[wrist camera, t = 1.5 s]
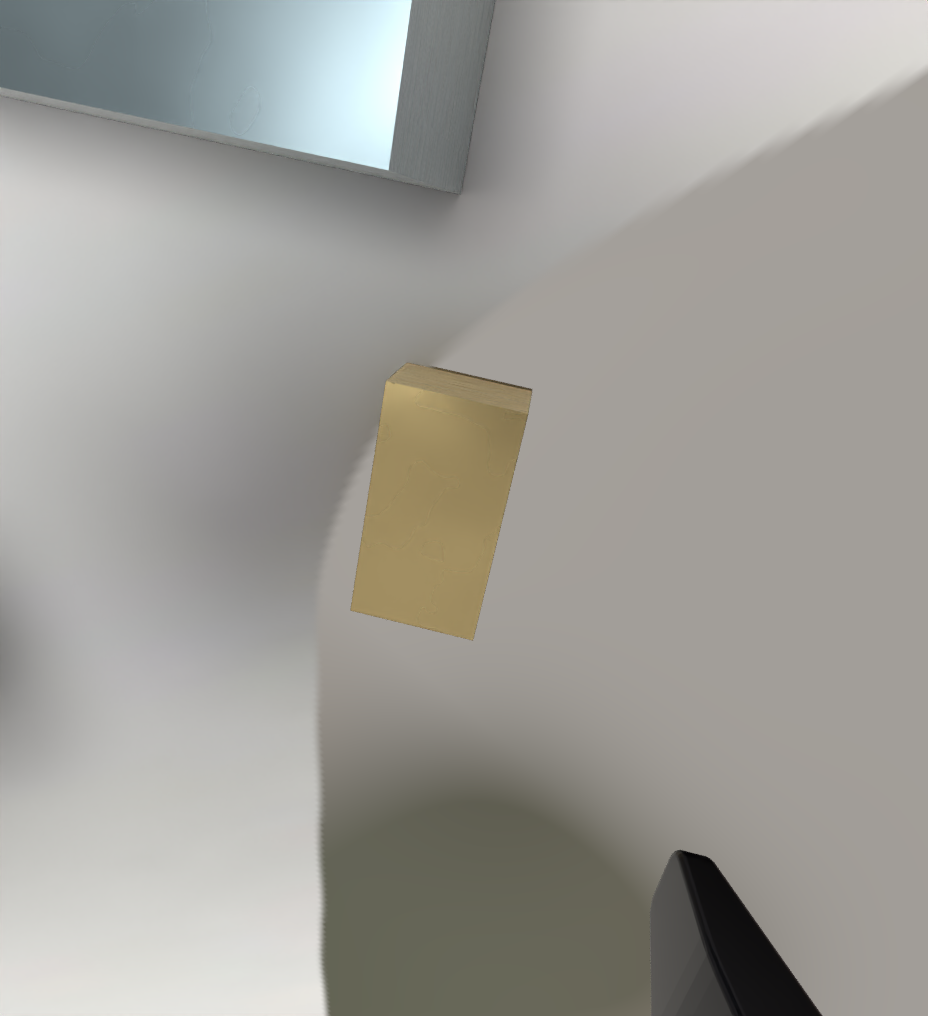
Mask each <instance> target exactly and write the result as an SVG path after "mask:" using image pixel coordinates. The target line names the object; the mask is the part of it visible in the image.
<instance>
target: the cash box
mask: <svg viewBox="0 0 928 1016" xmlns="http://www.w3.org/2000/svg"><path fill="white" fill-rule="evenodd" d="M494 4H495V0H0V96H3V97H8V98H13V99H17V100H22V101H27V102H31V103H36V104H41V105H45V106H50V107H55V108H59V109H64V110H69V111H73V112H78V113H83V114H87V115H92V116H96V117H101V118H106V119H110V120H115V121H120V122H124V123H129V124H134V125H138V126H143V127H148V128H152V129H157V130H162V131H166V132H171V133H176V134H180V135H185V136H190V137H194V138H199V139H204V140H208V141H213V142H218V143H222V144H227V145H232V146H236V147H241V148H246V149H250V150H255V151H260V152H264V153H269V154H274V155H278V156H283V157H288V158H292V159H297V160H302V161H306V162H311V163H315V164H320V165H325V166H329V167H334V168H339V169H343V170H348V171H353V172H357V173H362V174H367V175H371V176H376V177H381V178H385V179H390V180H395V181H399V182H404V183H409V184H413V185H418V186H423V187H427V188H432V189H437V190H441V191H446V192H451V193H455V194H460V195H461V190H462V184H463V178H464V173H465V167H466V161H467V156H468V150H469V145H470V139H471V133H472V128H473V122H474V116H475V111H476V105H477V100H478V94H479V88H480V83H481V77H482V71H483V66H484V60H485V54H486V49H487V43H488V38H489V32H490V26H491V21H492V15H493V9H494Z"/></svg>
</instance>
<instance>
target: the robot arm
mask: <svg viewBox="0 0 928 1016" xmlns="http://www.w3.org/2000/svg"><path fill="white" fill-rule="evenodd" d="M650 942H651V1016H822V1015H821V1013H820V1012H819V1010H818V1009H817V1008H816V1006H815V1005H814V1003H813V1002H812V1000H811V999H810V998H809V996H808V995H807V993H806V992H805V991H804V989H803V988H802V986H801V985H800V983H799V982H798V981H797V979H796V978H795V976H794V975H793V974H792V972H791V971H790V969H789V968H788V966H787V965H786V964H785V962H784V961H783V959H782V958H781V956H780V955H779V954H778V952H777V951H776V949H775V948H774V947H773V945H772V944H771V942H770V941H769V939H768V938H767V937H766V935H765V934H764V932H763V931H762V929H761V928H760V927H759V925H758V924H757V923H756V921H755V920H754V918H753V917H752V916H751V914H750V912H749V911H748V910H747V908H746V907H745V905H744V904H743V903H742V901H741V900H740V898H739V897H738V895H737V894H736V893H735V892H734V890H733V888H732V887H731V886H730V884H729V883H728V881H727V880H726V878H725V877H724V876H723V874H722V873H721V872H720V870H719V868H718V867H717V866H716V864H715V863H714V862H713V861H712V860H711V859H710V858H708V857H706V856H702V855H698V854H694V853H690V852H687V851H682V850H677V851H675V852H674V853H673V854H672V855H671V857H670V859H669V861H668V863H667V865H666V868H665V870H664V872H663V875H662V877H661V879H660V881H659V884H658V886H657V888H656V891H655V893H654V895H653V899H652V903H651V911H650Z"/></svg>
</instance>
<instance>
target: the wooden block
mask: <svg viewBox="0 0 928 1016" xmlns="http://www.w3.org/2000/svg"><path fill="white" fill-rule="evenodd" d="M531 395H532V389H530V388H526V387H522V386H517V385H513V384H508V383H504V382H500V381H495V380H491V379H486V378H482V377H478V376H473V375H469V374H465V373H460V372H456V371H452V370H447V369H443V368H438V367H434V366H432V367H431V368H429V367H424V366H420V365H416V364H411V363H406V364H405V365H404V366H402V367H401V368H400V369H399V370H398V371H397V372H396V373H394V374H393V375H392V376H391V377H390V378H389V379H388V380H386V384H385V390H384V397H383V403H382V409H381V416H380V422H379V429H378V435H377V442H376V448H375V455H374V461H373V468H372V474H371V481H370V487H369V494H368V500H367V506H366V514H365V519H364V526H363V533H362V539H361V545H360V552H359V559H358V565H357V571H356V578H355V584H354V590H353V597H352V603H351V611H355V612H359V613H363V614H367V615H371V616H375V617H379V618H384V619H387V620H391V621H395V622H400V623H404V624H408V625H412V626H416V627H420V628H425V629H428V630H432V631H436V632H440V633H445V634H449V635H453V636H457V637H461V638H465V639H469V640H473V638H474V634H475V630H476V626H477V622H478V618H479V614H480V610H481V605H482V601H483V597H484V593H485V589H486V585H487V581H488V577H489V573H490V568H491V564H492V560H493V556H494V552H495V548H496V544H497V540H498V536H499V532H500V528H501V523H502V519H503V515H504V511H505V507H506V503H507V499H508V494H509V491H510V487H511V482H512V478H513V474H514V470H515V466H516V462H517V458H518V454H519V449H520V445H521V441H522V437H523V433H524V429H525V425H526V421H527V416H528V412H529V406H530V401H531Z"/></svg>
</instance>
